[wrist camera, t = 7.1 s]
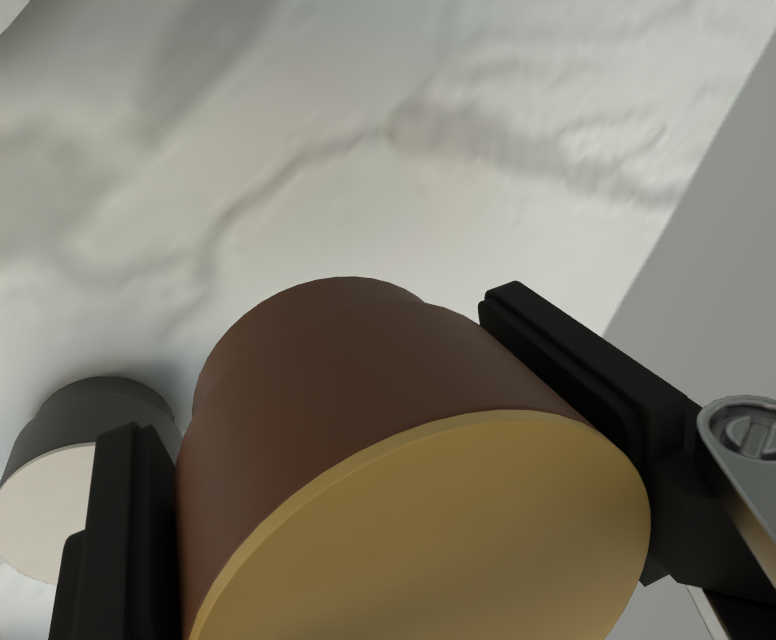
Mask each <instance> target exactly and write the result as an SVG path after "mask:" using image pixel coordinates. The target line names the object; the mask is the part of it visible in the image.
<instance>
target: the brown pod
mask: <svg viewBox="0 0 776 640" xmlns="http://www.w3.org/2000/svg"><path fill="white" fill-rule="evenodd" d="M173 487H174V508H175V526H176V544H177V563H178V581H179V599H180V618H181V636H182V640H604V639H605V638H606V636H607V635H608V634H609V633H610V631H611V630H612V628H613V627H614V625H615V624H616V622H617V620H618V619H619V617H620V616H621V614H622V613H623V611H624V610H625V608H626V606H627V604H628V602H629V600H630V598H631V596H632V594H633V592H634V590H635V588H636V585H637V583H638V580H639V578H640V575H641V573H642V570H643V567H644V563H645V560H646V556H647V552H648V548H649V540H650V532H651V515H650V505H649V500H648V496H647V491H646V488H645V486H644V484H643V482H642V479H641V477H640V475H639V473H638V471H637V469H636V468H635V467H634V465H633V464H632V463H631V461H630V460H629V459H628V457H627V456H626V455H625V454H624V453H623V452H622V451H621V450H620V449H618V448H617V447H616V446H615V445H614V444H613V443H612V442H611V441H610V440H608V439H607V438H606V437H605V436H604V435H603V434H602V433H601V432H599V431H598V430H597V429H596V428H595V427H594V426H593V425H592V424H590V423H589V422H588V421H587V420H586V419H585V418H584V417H583V416H581V415H580V414H579V413H578V412H577V411H576V410H575V409H574V408H573V407H571V406H570V405H569V404H568V403H567V402H566V401H565V400H564V399H562V398H561V397H560V396H559V395H558V394H557V393H556V392H555V391H553V390H552V389H551V388H550V387H549V386H548V385H547V384H546V383H544V382H543V381H542V380H541V379H540V378H539V377H538V376H537V375H535V374H534V373H533V372H532V371H531V370H530V369H529V368H528V367H527V366H525V365H524V364H523V363H522V362H521V361H520V360H519V359H518V358H516V357H515V356H514V355H513V354H512V353H511V352H510V351H509V350H507V349H506V348H505V347H504V346H503V345H502V344H501V343H500V342H498V341H497V340H496V339H495V338H494V337H493V336H492V335H491V334H489V333H488V332H487V331H486V330H485V329H484V328H482V327H481V326H480V325H478V324H477V323H475V322H474V321H472V320H470V319H469V318H467V317H465V316H464V315H461V314H459V313H456V312H454V311H452V310H449V309H447V308H444V307H440V306H436V305H432V304H428V303H425V302H424V301H422V300H421V299H420V298H419V297H417V296H416V295H414V294H412V293H411V292H409V291H407V290H406V289H404V288H401V287H399V286H396V285H394V284H391V283H389V282H385V281H381V280H377V279H373V278H364V277H332V278H325V279H318V280H314V281H310V282H306V283H303V284H299V285H296V286H294V287H291V288H289V289H286V290H284V291H281V292H279V293H277V294H275V295H273V296H272V297H270V298H268V299H266V300H264V301H263V302H261V303H260V304H258V305H257V306H255V307H254V308H253V309H251V310H250V311H248V312H247V313H246V314H244V315H243V316H242V317H241V318H240V319H239V320H238V321H237V322H236V323H235V324H234V325H233V326H231V327H230V328H229V330H228V331H227V332H226V333H225V334H224V336H223V337H222V338H221V339H220V340H219V341H218V343H217V344H216V346H215V347H214V349H213V350H212V352H211V353H210V355H209V357H208V358H207V360H206V362H205V364H204V366H203V369H202V371H201V373H200V375H199V378H198V382H197V385H196V388H195V392H194V398H193V406H192V420H191V422H190V425H189V427H188V429H187V431H186V433H185V435H184V438H183V440H182V443H181V447H180V450H179V454H178V457H177V460H176V467H175V474H174V482H173Z"/></svg>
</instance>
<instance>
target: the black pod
mask: <svg viewBox="0 0 776 640" xmlns="http://www.w3.org/2000/svg"><path fill="white" fill-rule="evenodd" d="M132 421H136V422H138V424H139V425H140V426H141V428H142V427H144V426H147V425H150V424H151V425H153V426H154V427H155V429H156V431H157V432H158V434H159V436H160V438H161V440H162V442H163V444H164V446H165V448H166V450H167V452H168V453H169V455H170V457H171V459H172V461H173V463H174V465H175V467H176V460H177V457H178V454H179V450H180V447H181V443H182V440H183V438H182V435H181V433H180V431H179V430H178V428H177V426H176V425H175V424H174V419H173V415H172V413H171V410H170V408H169V407H168V405H167V403H166V402H165V401H164V400H163V398H162V397H161V396H159V395H158V394H157V393H156V392H155V391H153V390H152V389H151V388H149V387H147V386H145V385H143V384H141V383H139V382H136V381H134V380H130V379H126V378H120V377H107V376H105V377H94V378H88V379H84V380H80V381H77V382H74V383H72V384H69V385H67V386H66V387H64V388H62V389H60V390H59V391H57V392H56V393H54V394H53V395H52V396H51V397H50V398H48V399H47V400H46V401H45V403H44V404H43V405H42V406H41V408H40V409H39V411H38V413H37V415H36V417H34V418H33V419H32V420H31V421H30V422H29V423H28V424H27V425H26V426H25V427H24V429H23V430H22V431H21V432H20V434H19V436H18V437H17V439H16V441H15V443H14V446H13V449H12V451H11V454H10V457H9V460H8V462H7V465H6V468H5V471H4V474H3V476H2V479H1V482H0V556H1V557H2V558H3V559H4V560H5V561H6V563H7V564H9V565H10V566H11V567H13V568H14V569H15V570H17V571H18V572H20V573H22V574H24V575H25V576H28V577H30V578H33V579H35V580H38V581H41V582H45V583H49V584H54V585H57V583H58V577H59V571H60V565H61V558H62V552H63V547H64V544H65V541H66V539H67V538H68V537H69V536H70V535H72V534H74V533H77V532H79V531H82V530H84V529H85V523H86V515H87V507H88V499H89V492H90V484H91V476H92V468H93V460H94V452H95V444H96V438H97V435H98V434H99V433H102V432H105V431H107V430H110V429H113V428H115V427H118V426H121V425H124V424H126V423H129V422H132Z"/></svg>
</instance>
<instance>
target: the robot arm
mask: <svg viewBox="0 0 776 640" xmlns="http://www.w3.org/2000/svg"><path fill="white" fill-rule="evenodd" d="M484 298H485V300H484V301H481V302H479V304H478V314H479V321H480V326H481V327H482V328H484V329H485V330H486V331H487V332H488V333H489V334H491V335H492V336H493V337H494V338H495V339H496V340H497V341H498V342H500V343H501V344H502V345H503V346H504V347H505V348H506V349H507V350H509V351H510V352H511V353H512V354H513V355H514V356H515V357H516V358H518V359H519V360H520V361H521V362H522V363H523V364H524V365H525V366H527V367H528V368H529V369H530V370H531V371H532V372H533V373H534V374H535V375H537V376H538V377H539V378H540V379H541V380H542V381H543V382H544V383H546V384H547V385H548V386H549V387H550V388H551V389H552V390H553V391H555V392H556V393H557V394H558V395H559V396H560V397H561V398H562V399H564V400H565V401H566V402H567V403H568V404H569V405H570V406H571V407H573V408H574V409H575V410H576V411H577V412H578V413H579V414H580V415H581V416H583V417H584V418H585V419H586V420H587V421H588V422H589V423H590V424H592V425H593V426H594V427H595V428H596V429H597V430H598V431H599V432H601V433H602V434H603V435H604V436H605V437H606V438H607V439H608V440H610V441H611V442H612V443H613V444H614V445H615V446H616V447H617V448H618V449H620V450H621V451H622V452H623V453H624V454H625V455H626V456H627V457H628V459H629V460H630V461H631V463H632V464H633V465H634V467H635V468H636V469H637V471H638V473H639V475H640V477H641V479H642V482H643V484H644V486H645V488H646V491H647V496H648V500H649V505H650V515H651V532H650V540H649V548H648V552H647V556H646V560H645V563H644V567H643V570H642V573H641V575H640V578H639V581H640V582H641V583H642V584H643V586H644V587H645V586H647V585H649V584H651V583H653V582H655V581H657V580H659V579H661V578H663V577H665V576H667V575H669V574H670V575H671V576H672V578H673V579H674V580H675V581H676V582H677V583H681V584H685V585H686V587H687V590H688V592H689V593H690V596H691V598H692V600H693V602H694V604H695V606H696V608H697V610H698V611H699V613H700V615H701V617H702V619H703V621H704V623H705V625H706V627H707V629H708V631H709V633H710V635H711V637H712V639H713V640H776V400H774V399H770V398H767V397H760V396H751V395H737V396H727V397H724V398H720V399H717V400H714V401H712V402H711V403H709V404H708V405H706V406H704V407H703V408H702V407H701V406H699V405H698V404H696V403H695V402H693V401H692V400H691V399H689V398H688V397H687V396H686V395H685V394H683V393H682V392H681V391H679V390H678V389H676V388H675V387H673V386H672V385H670V384H669V383H667V382H666V381H664V380H663V379H661V378H660V377H659V376H657V375H656V374H654V373H653V372H651V371H650V370H648V369H647V368H645V367H644V366H642V365H641V364H639V363H638V362H637V361H635V360H633V359H632V358H631V357H629V356H628V355H626V354H625V353H623V352H622V351H620V350H619V349H617V348H616V347H615V346H613V345H612V344H610V343H609V342H607V341H606V340H604V339H603V338H601V337H600V336H598V335H597V334H595V333H594V332H593V331H591V330H590V329H588V328H587V327H585V326H584V325H582V324H581V323H579V322H578V321H576V320H575V319H573V318H572V317H571V316H569V315H568V314H566V313H565V312H563V311H562V310H560V309H559V308H557V307H556V306H554V305H553V304H551V303H550V302H548V301H547V300H546V299H544V298H543V297H541V296H540V295H538V294H537V293H535V292H534V291H532V290H531V289H529V288H528V287H526V286H525V285H524V284H522V283H521V282H519V281H512V282H509V283H507V284H504V285H501V286H499V287H496V288H493V289H490V290H488V291H487V292H486V293H485V297H484ZM174 474H175V465H174V463H173V461H172V459H171V457H170V455H169V453H168V452H167V450H166V448H165V446H164V444H163V442H162V440H161V438H160V436H159V434H158V432H157V431H156V429H155V427H154V426H153V425H151V424H150V425H147V426H144V427H142V428H141V426H140V425H139V424H138V422H136V421H132V422H129V423H126V424H124V425H121V426H118V427H115V428H113V429H110V430H107V431H105V432H102V433H99V434H98V435H97V438H96V444H95V452H94V460H93V468H92V476H91V484H90V492H89V499H88V507H87V515H86V523H85V529H84V530H82V531H79V532H77V533H74V534H72V535H70V536H69V537H68V538H67V539H66V541H65V544H64V547H63V552H62V558H61V565H60V571H59V577H58V583H57V589H56V595H55V601H54V607H53V613H52V620H51V626H50V632H49V638H48V640H182V636H181V618H180V599H179V581H178V563H177V544H176V526H175V508H174V487H173V482H174Z"/></svg>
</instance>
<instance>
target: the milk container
mask: <svg viewBox="0 0 776 640" xmlns="http://www.w3.org/2000/svg"><path fill="white" fill-rule="evenodd" d="M29 1H30V0H0V34H1V33H2V32H3V31H4V30H5V29H6V28H7V27H8V26H9V25H10V24H11V23H12V22H13V21H14V19H15V18H16V17H17V16H18V15H19V13H20V12H21V11H22V10H23V9H24V7H25V6H26V5H27V4H28V2H29Z"/></svg>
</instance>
